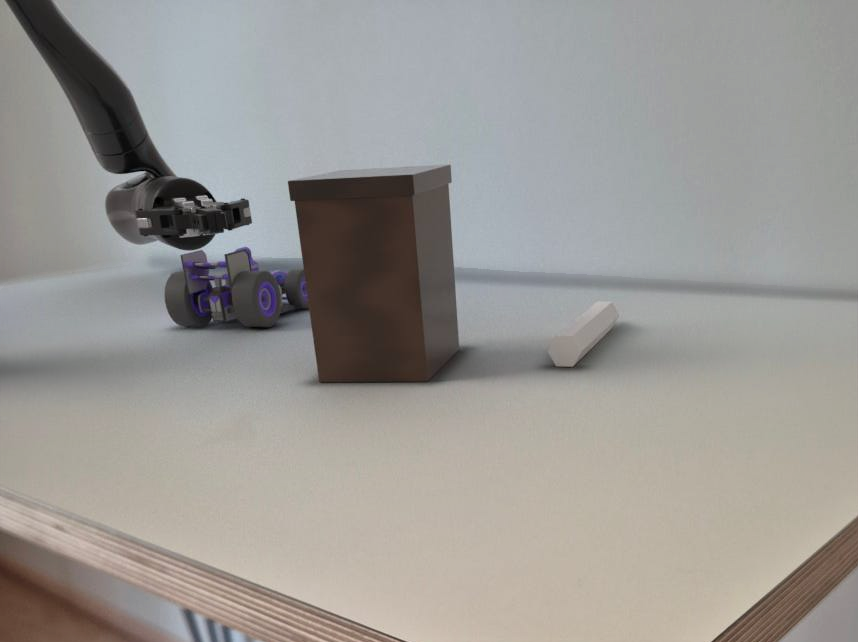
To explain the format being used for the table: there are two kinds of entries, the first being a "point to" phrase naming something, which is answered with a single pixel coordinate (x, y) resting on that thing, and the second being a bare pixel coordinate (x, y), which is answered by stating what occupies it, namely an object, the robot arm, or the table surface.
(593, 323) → the grey hexagonal bar
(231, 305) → the toy race car
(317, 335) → the brown lidded box
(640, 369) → the table surface
